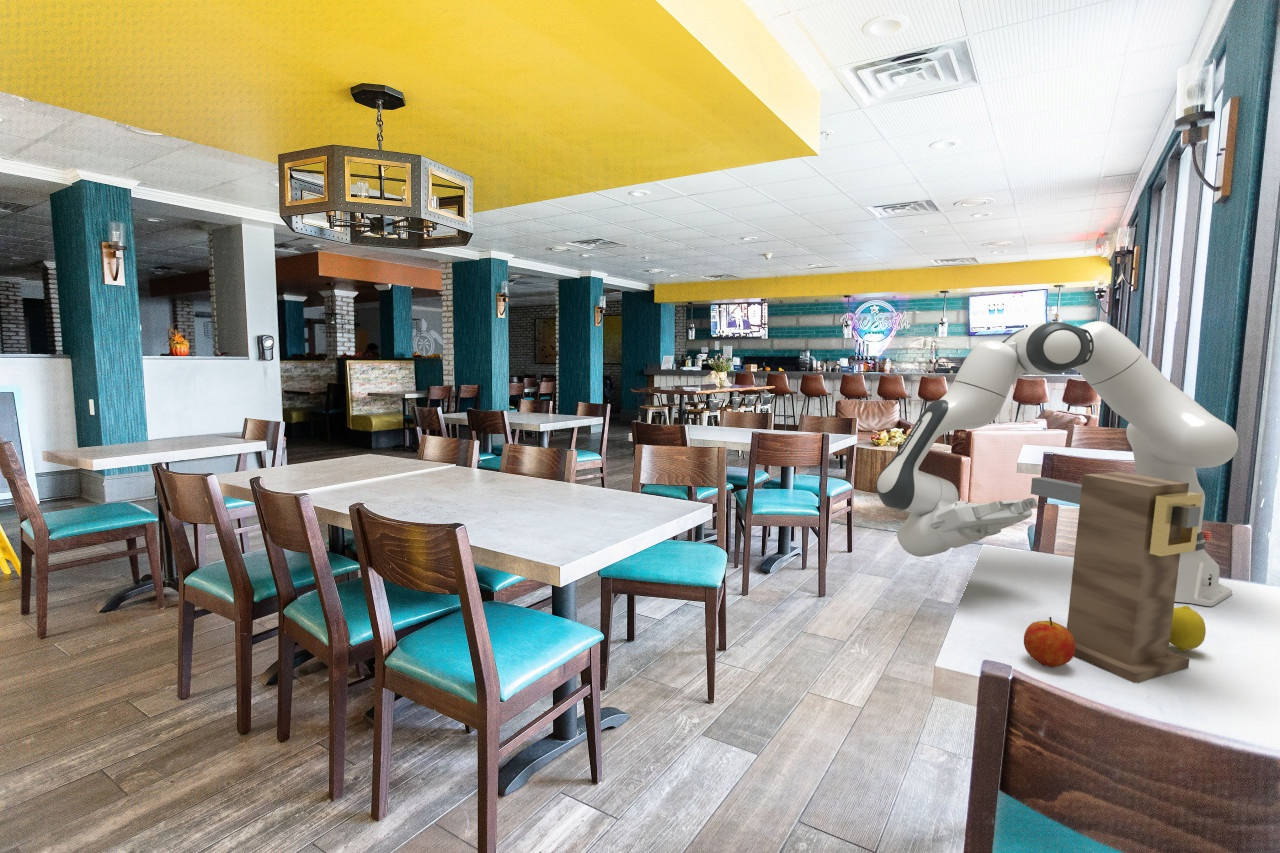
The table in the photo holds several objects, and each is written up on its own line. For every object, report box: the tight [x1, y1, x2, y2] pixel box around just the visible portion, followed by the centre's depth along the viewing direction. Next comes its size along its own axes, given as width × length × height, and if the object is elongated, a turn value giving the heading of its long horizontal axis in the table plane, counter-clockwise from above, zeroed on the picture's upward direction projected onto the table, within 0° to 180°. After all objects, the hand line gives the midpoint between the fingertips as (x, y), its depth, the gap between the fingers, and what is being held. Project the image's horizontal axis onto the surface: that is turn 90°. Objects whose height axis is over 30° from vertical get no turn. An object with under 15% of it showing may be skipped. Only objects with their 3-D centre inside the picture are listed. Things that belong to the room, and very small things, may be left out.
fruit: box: [1023, 616, 1075, 668], centre depth 102 cm, size 7×7×8 cm
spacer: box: [1150, 492, 1202, 556], centre depth 97 cm, size 9×2×9 cm, turn 113°
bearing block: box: [1066, 471, 1190, 684], centre depth 104 cm, size 14×14×30 cm
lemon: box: [1169, 605, 1207, 652], centre depth 108 cm, size 6×6×8 cm
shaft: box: [1030, 476, 1201, 528], centre depth 107 cm, size 3×24×3 cm, turn 23°
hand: (1018, 503), depth 121 cm, fingers open, 8 cm apart
